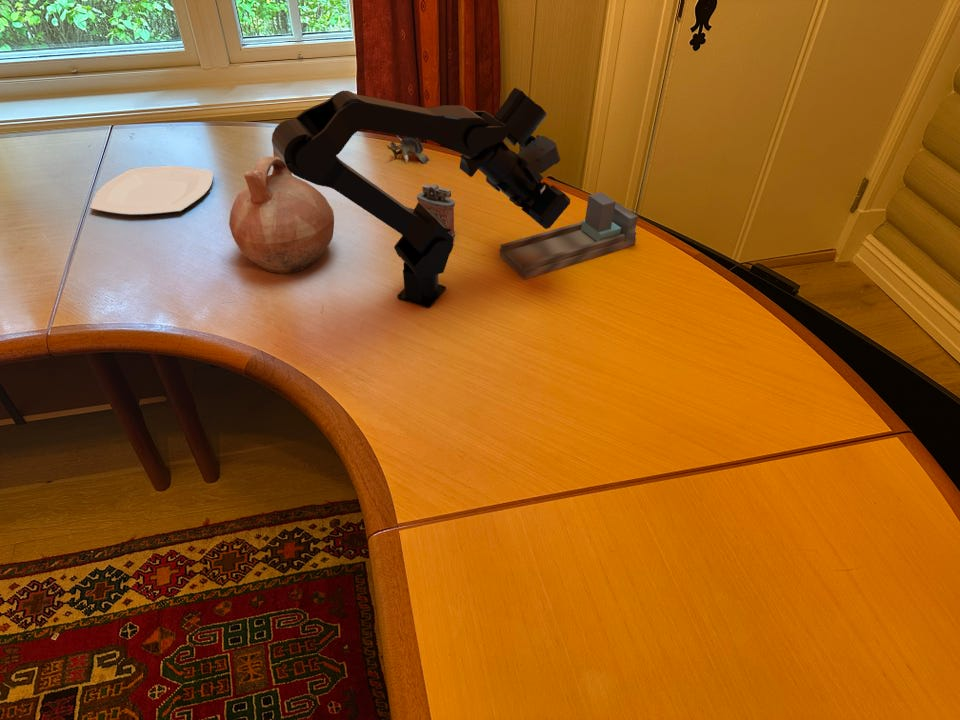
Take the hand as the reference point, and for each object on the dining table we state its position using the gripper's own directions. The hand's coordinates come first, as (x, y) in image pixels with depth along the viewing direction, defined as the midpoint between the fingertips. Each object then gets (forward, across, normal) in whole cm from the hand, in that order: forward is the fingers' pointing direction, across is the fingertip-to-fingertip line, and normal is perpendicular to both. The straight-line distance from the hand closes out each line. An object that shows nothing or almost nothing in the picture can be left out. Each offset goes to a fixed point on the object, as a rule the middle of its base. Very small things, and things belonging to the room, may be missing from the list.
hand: (550, 213), depth 110 cm
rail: (+10, 0, +3) cm, 10 cm away
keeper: (+14, 0, -4) cm, 15 cm away
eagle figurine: (+4, +52, +10) cm, 54 cm away
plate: (-36, +61, +51) cm, 87 cm away
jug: (-23, +23, +37) cm, 50 cm away
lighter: (-3, +18, +17) cm, 25 cm away
